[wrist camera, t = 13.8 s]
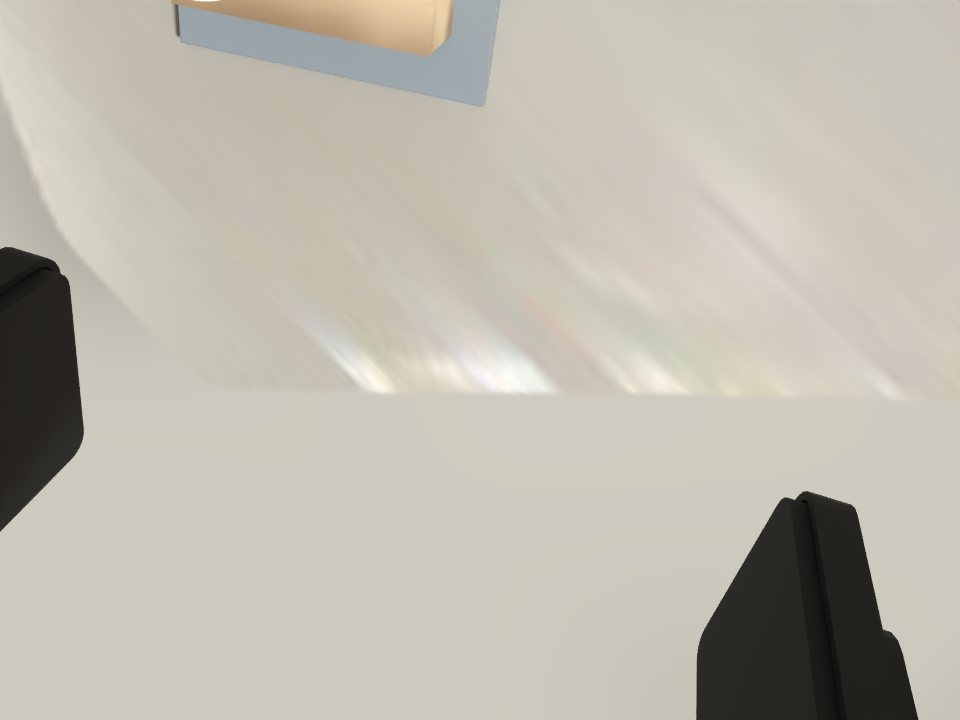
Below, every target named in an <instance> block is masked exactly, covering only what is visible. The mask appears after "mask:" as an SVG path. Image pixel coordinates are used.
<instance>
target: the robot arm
mask: <svg viewBox="0 0 960 720" xmlns="http://www.w3.org/2000/svg"><path fill="white" fill-rule="evenodd" d="M83 435H84V427H83V418H82V407H81V396H80V387H79V377H78V366H77V355H76V346H75V335H74V325H73V314H72V304H71V294H70V285H69V282H68V279H67V278H66V277H65V276H63V275H62V274H61V273H60V270H59V267H58V266H57V264H56V263H55V262H54V261H52V260H50V259H48V258H45V257H42V256H38V255H35V254H32V253H29V252H25V251H21V250H18V249H15V248H12V247H4V248H2V249H0V531H1V530H2V529H3V528H4V527H5V526H6V525H7V524H8V523H9V522H10V521H11V520H12V519H13V518H14V517H15V516H16V515H17V514H18V513H19V512H20V511H21V510H22V509H23V508H24V507H25V506H26V505H27V504H28V503H29V502H30V501H31V500H32V499H33V498H34V497H35V496H36V495H37V494H38V493H39V492H40V491H41V490H42V489H43V488H44V486H46V485H47V484H48V482H49V481H50V480H51V479H52V478H53V477H54V476H55V475H56V474H57V473H58V472H59V471H60V470H61V469H62V468H63V467H64V466H65V465H66V464H67V463H68V462H69V461H70V460H71V459H72V458H73V457H74V456H75V454H76V453H77V451H78V449H79V448H80V445H81V443H82V439H83ZM696 714H697V716H696V720H918V717H917V712H916V708H915V704H914V699H913V695H912V691H911V687H910V683H909V678H908V675H907V670H906V666H905V662H904V657H903V653H902V650H901V648H900V645H899V642H898V640H897V639H896V637H895V636H894V635H893V634H892V633H891V632H889V631H885V630H883V628H882V624H881V619H880V615H879V610H878V606H877V601H876V597H875V592H874V588H873V583H872V578H871V574H870V569H869V565H868V560H867V556H866V551H865V547H864V542H863V538H862V533H861V528H860V524H859V519H858V515H857V512H856V509H855V508H854V507H853V506H852V505H851V504H847V503H843V502H841V501H837V500H834V499H831V498H828V497H824V496H821V495H818V494H815V493H811V492H808V491H806V492H802V493H801V494H800V495H799V496H798V497H797V498H796V500H793V499H790V498H783V499H782V500H781V501H780V502H779V503H778V505H777V506H776V508H775V510H774V512H773V513H772V515H771V517H770V518H769V520H768V522H767V524H766V525H765V527H764V529H763V530H762V532H761V534H760V536H759V537H758V539H757V541H756V542H755V544H754V546H753V547H752V549H751V551H750V552H749V554H748V556H747V558H746V559H745V561H744V563H743V564H742V566H741V568H740V570H739V571H738V573H737V575H736V576H735V578H734V580H733V582H732V583H731V585H730V587H729V588H728V590H727V592H726V593H725V595H724V597H723V599H722V600H721V602H720V604H719V605H718V607H717V609H716V611H715V612H714V614H713V616H712V617H711V619H710V621H709V623H708V624H707V626H706V628H705V629H704V631H703V633H702V636H701V639H700V643H699V647H698V653H697V710H696Z"/></svg>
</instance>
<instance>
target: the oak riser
mask: <svg viewBox="0 0 960 720" xmlns="http://www.w3.org/2000/svg"><path fill="white" fill-rule="evenodd" d="M454 2H455V0H219V1H196V0H172V4H177V5H182V6H187V7H191V8H196V9H201V10H206V11H211V12H215V13H220V14H225V15H230V16H235V17H239V18H244V19H249V20H254V21H259V22H263V23H268V24H273V25H278V26H283V27H287V28H292V29H297V30H302V31H307V32H311V33H316V34H321V35H326V36H331V37H335V38H340V39H345V40H350V41H355V42H359V43H364V44H369V45H374V46H378V47H383V48H388V49H393V50H398V51H402V52H407V53H412V54H417V55H422V56H426V57H428V56H429V55H430V54H431V53H432V52H434V51H435V50H436V49H437V48H438V47H439V46H440V45H441V44H443V43H444V42H445V41H446V40H447V39H448V38H449V37H450V36H451V28H452V19H453V11H454Z"/></svg>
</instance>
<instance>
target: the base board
mask: <svg viewBox="0 0 960 720" xmlns="http://www.w3.org/2000/svg"><path fill="white" fill-rule="evenodd" d="M499 3H500V0H455V2H454V11H453V19H452V28H451V36H450V37H449V38H448V39H447V40H446V41H445V42H444V43H443V44H441V45H440V46H439V47H438V48H437V49H436V50H435V51H434V52H432V53H431V54H430V55H429V56H428V57H426V56H422V55H417V54H412V53H407V52H402V51H398V50H393V49H388V48H383V47H378V46H374V45H369V44H364V43H359V42H355V41H350V40H345V39H340V38H335V37H331V36H326V35H321V34H316V33H311V32H307V31H302V30H297V29H292V28H287V27H283V26H278V25H273V24H268V23H263V22H259V21H254V20H249V19H244V18H239V17H235V16H230V15H225V14H220V13H215V12H211V11H206V10H201V9H196V8H191V7H187V6H182V5H178V10H179V25H180V40H181V43H184V44H189V45H194V46H198V47H203V48H208V49H213V50H217V51H222V52H227V53H231V54H236V55H241V56H245V57H250V58H255V59H259V60H264V61H269V62H273V63H278V64H283V65H287V66H292V67H297V68H301V69H306V70H311V71H316V72H320V73H325V74H330V75H334V76H339V77H344V78H348V79H353V80H358V81H362V82H367V83H372V84H376V85H381V86H386V87H390V88H395V89H400V90H405V91H409V92H414V93H419V94H423V95H428V96H433V97H437V98H442V99H447V100H451V101H456V102H461V103H465V104H470V105H475V106H479V107H483V106H484V105H485V101H486V94H487V87H488V80H489V73H490V66H491V59H492V52H493V45H494V38H495V31H496V24H497V17H498V10H499Z"/></svg>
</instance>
